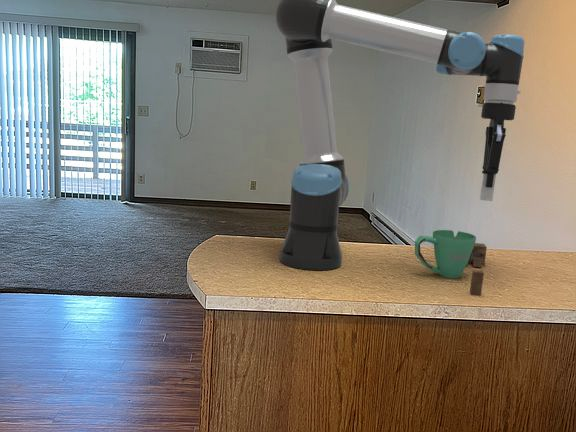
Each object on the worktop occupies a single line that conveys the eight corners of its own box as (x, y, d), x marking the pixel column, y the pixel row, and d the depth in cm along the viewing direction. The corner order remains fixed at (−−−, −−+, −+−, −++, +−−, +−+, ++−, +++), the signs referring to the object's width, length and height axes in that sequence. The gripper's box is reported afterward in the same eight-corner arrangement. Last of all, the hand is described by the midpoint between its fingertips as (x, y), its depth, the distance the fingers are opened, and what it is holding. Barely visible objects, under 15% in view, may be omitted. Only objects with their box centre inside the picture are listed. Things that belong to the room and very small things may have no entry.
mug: (457, 269, 140) (462, 230, 138) (479, 281, 131) (484, 239, 129) (402, 269, 137) (407, 229, 135) (421, 281, 127) (426, 238, 125)
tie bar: (473, 266, 143) (474, 257, 142) (462, 244, 168) (463, 236, 168) (481, 267, 143) (482, 258, 142) (469, 245, 168) (470, 237, 167)
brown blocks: (471, 294, 120) (473, 271, 119) (456, 259, 151) (458, 240, 150) (503, 298, 119) (506, 275, 118) (482, 261, 149) (484, 243, 148)
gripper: (521, 103, 128) (506, 205, 132) (510, 104, 140) (497, 198, 145) (487, 100, 129) (473, 202, 133) (479, 102, 142) (467, 195, 146)
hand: (486, 200), depth 139 cm, fingers closed
